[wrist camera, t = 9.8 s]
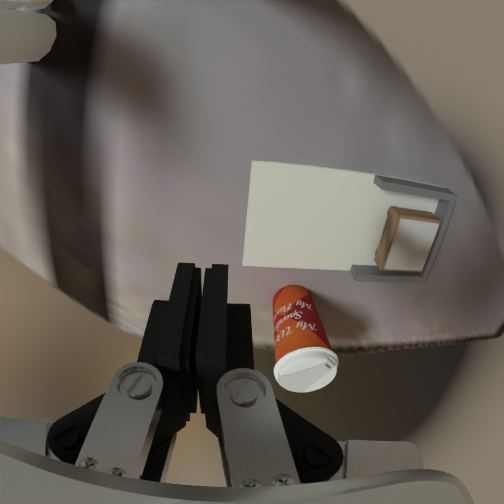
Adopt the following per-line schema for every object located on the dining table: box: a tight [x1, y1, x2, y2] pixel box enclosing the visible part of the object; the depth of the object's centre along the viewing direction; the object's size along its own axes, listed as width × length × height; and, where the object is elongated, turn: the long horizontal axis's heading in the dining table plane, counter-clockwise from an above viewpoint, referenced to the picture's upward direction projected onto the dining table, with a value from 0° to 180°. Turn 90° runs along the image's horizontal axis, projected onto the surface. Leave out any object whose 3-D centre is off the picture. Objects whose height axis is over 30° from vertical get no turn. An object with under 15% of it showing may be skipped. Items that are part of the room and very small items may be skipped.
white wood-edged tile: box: [374, 206, 441, 272], centre depth 38 cm, size 8×7×4 cm
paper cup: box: [273, 285, 338, 392], centre depth 40 cm, size 8×8×14 cm
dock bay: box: [243, 160, 457, 282], centre depth 38 cm, size 14×27×3 cm, turn 85°
